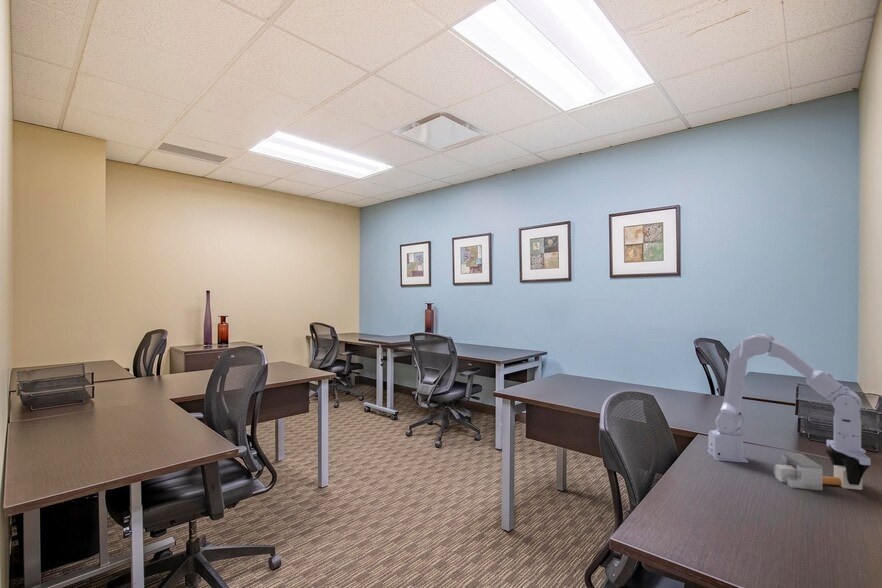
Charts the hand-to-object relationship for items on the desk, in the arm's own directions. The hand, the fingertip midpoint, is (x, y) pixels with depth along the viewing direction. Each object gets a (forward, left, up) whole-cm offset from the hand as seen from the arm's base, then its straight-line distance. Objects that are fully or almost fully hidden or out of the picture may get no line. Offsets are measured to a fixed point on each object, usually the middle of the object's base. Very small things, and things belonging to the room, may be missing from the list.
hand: (847, 480), depth 120 cm
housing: (-12, 0, -2) cm, 13 cm away
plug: (-7, 0, -2) cm, 8 cm away
